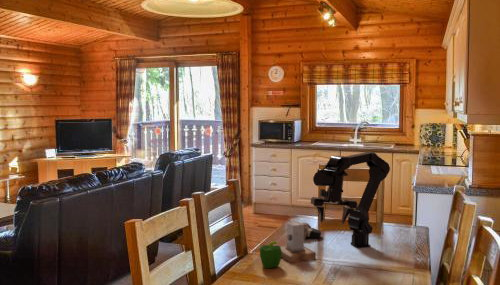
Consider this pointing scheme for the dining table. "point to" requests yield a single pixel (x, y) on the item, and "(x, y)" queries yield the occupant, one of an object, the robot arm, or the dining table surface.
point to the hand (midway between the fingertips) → (332, 223)
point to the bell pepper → (270, 255)
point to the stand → (297, 255)
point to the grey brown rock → (310, 231)
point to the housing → (295, 237)
